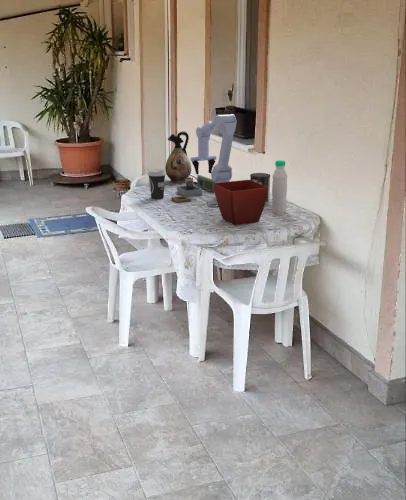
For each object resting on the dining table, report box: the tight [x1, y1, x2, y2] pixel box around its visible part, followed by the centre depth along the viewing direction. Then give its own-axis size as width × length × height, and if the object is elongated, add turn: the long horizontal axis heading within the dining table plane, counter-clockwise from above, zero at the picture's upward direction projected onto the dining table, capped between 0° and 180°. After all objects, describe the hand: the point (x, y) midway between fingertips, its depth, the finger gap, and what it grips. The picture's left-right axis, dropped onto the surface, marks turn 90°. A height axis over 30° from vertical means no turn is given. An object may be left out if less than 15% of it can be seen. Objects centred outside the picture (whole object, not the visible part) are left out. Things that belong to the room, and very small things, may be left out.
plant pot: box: [214, 179, 268, 226], centre depth 286 cm, size 19×19×17 cm
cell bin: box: [176, 184, 203, 197], centre depth 342 cm, size 12×10×4 cm
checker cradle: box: [170, 195, 193, 204], centre depth 327 cm, size 9×9×2 cm
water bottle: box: [271, 160, 288, 215], centre depth 300 cm, size 7×7×25 cm
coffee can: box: [249, 172, 271, 204], centre depth 323 cm, size 10×10×14 cm
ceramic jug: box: [164, 130, 195, 184], centre depth 371 cm, size 17×15×30 cm
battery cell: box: [185, 176, 194, 190], centre depth 341 cm, size 4×4×9 cm
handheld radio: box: [193, 174, 215, 193], centre depth 357 cm, size 7×3×25 cm
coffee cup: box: [147, 168, 167, 200], centre depth 331 cm, size 10×10×15 cm
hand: (203, 173), depth 347 cm, fingers open, 7 cm apart
